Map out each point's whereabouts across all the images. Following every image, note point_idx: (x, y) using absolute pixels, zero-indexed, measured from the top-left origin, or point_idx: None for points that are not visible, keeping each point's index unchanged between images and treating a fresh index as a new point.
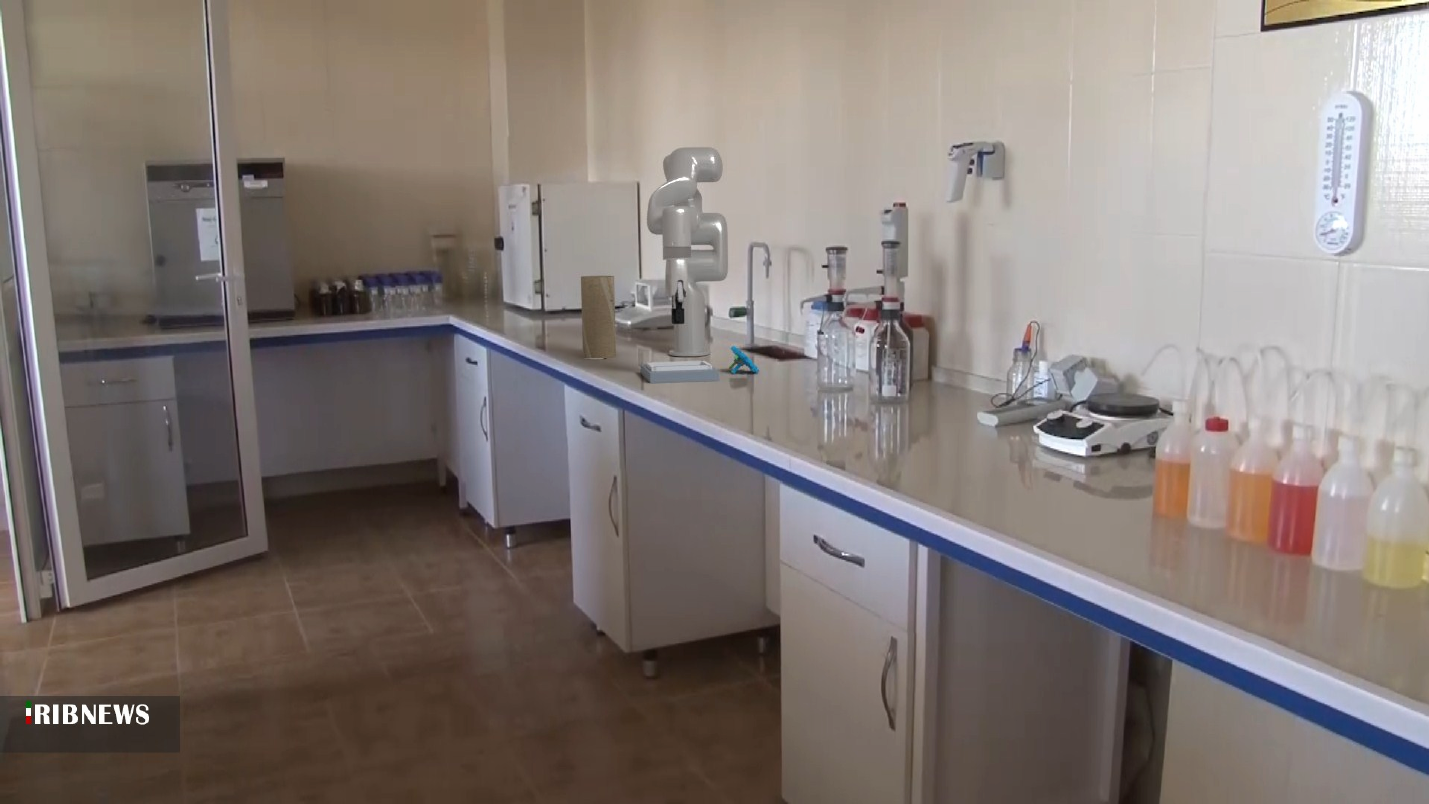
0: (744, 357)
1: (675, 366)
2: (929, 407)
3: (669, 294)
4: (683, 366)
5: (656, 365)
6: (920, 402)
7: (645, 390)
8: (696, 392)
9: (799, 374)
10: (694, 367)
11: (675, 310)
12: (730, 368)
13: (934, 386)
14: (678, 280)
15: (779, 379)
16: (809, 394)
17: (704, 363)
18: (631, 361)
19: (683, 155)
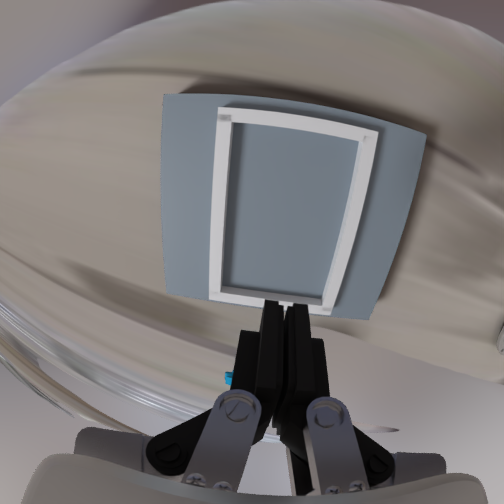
0: (227, 376)
1: (216, 194)
2: (11, 352)
3: (68, 479)
4: (211, 220)
5: (355, 162)
6: (27, 363)
7: (69, 80)
8: (35, 186)
9: None
10: (211, 251)
11: (247, 389)
12: None
13: (108, 419)
14: None
15: (173, 366)
16: (40, 324)
17: (272, 299)
18: None
19: None
